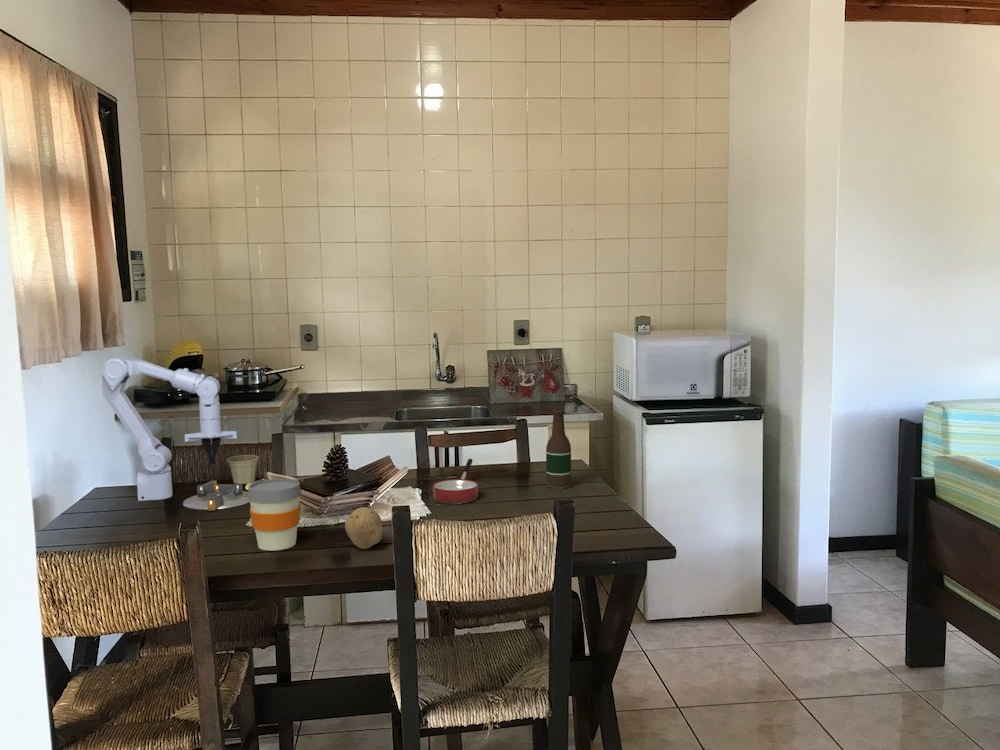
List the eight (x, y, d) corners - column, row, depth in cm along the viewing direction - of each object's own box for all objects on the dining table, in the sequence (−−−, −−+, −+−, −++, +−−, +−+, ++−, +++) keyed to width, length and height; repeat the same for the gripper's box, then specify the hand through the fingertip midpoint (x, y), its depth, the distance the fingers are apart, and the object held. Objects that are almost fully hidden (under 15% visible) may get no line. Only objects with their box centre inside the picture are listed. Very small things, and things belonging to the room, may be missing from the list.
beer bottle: (554, 482, 261) (554, 406, 258) (576, 485, 256) (576, 408, 253) (541, 487, 254) (540, 409, 251) (563, 491, 250) (562, 412, 247)
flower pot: (254, 488, 258) (253, 461, 256) (224, 489, 258) (222, 461, 257) (263, 481, 267) (262, 454, 266) (234, 481, 267) (233, 455, 266)
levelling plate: (180, 516, 229) (180, 507, 229) (185, 498, 248) (184, 490, 247) (256, 509, 235) (256, 501, 234) (255, 491, 254) (254, 484, 253)
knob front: (216, 502, 237) (215, 492, 236) (224, 502, 237) (224, 492, 236) (205, 511, 228) (205, 500, 228) (214, 511, 228) (214, 500, 228)
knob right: (243, 493, 247) (243, 483, 246) (240, 495, 244) (240, 485, 244) (216, 493, 247) (215, 483, 247) (212, 495, 245) (212, 485, 244)
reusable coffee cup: (299, 551, 198) (296, 490, 196) (245, 554, 197) (241, 492, 195) (306, 535, 210) (304, 477, 209) (256, 537, 210) (253, 479, 208)
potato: (349, 542, 205) (348, 502, 204) (385, 541, 205) (384, 502, 204) (343, 554, 196) (341, 513, 194) (381, 553, 196) (379, 512, 195)
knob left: (203, 497, 243) (202, 487, 243) (195, 496, 243) (195, 486, 243) (218, 489, 251) (218, 480, 251) (211, 489, 252) (211, 479, 251)
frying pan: (442, 477, 268) (442, 458, 268) (483, 477, 268) (482, 458, 267) (430, 505, 237) (430, 483, 236) (476, 505, 236) (476, 483, 235)
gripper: (183, 422, 239) (185, 468, 241) (235, 419, 244) (238, 464, 245) (184, 418, 246) (187, 463, 248) (235, 415, 250) (238, 459, 252)
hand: (212, 463), depth 247 cm, fingers closed
